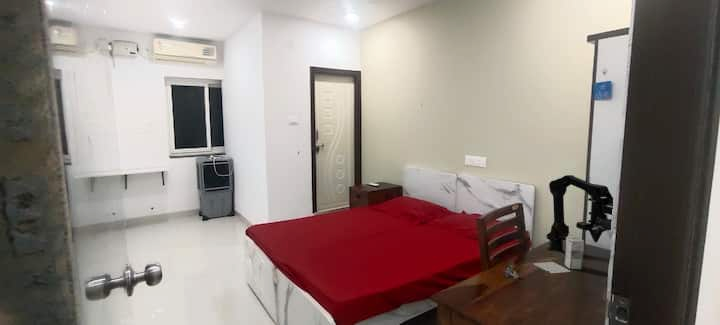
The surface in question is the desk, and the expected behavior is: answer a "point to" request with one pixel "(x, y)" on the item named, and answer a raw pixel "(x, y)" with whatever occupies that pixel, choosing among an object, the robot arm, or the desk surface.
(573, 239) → the syrup box
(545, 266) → the mat
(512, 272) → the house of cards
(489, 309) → the desk surface
